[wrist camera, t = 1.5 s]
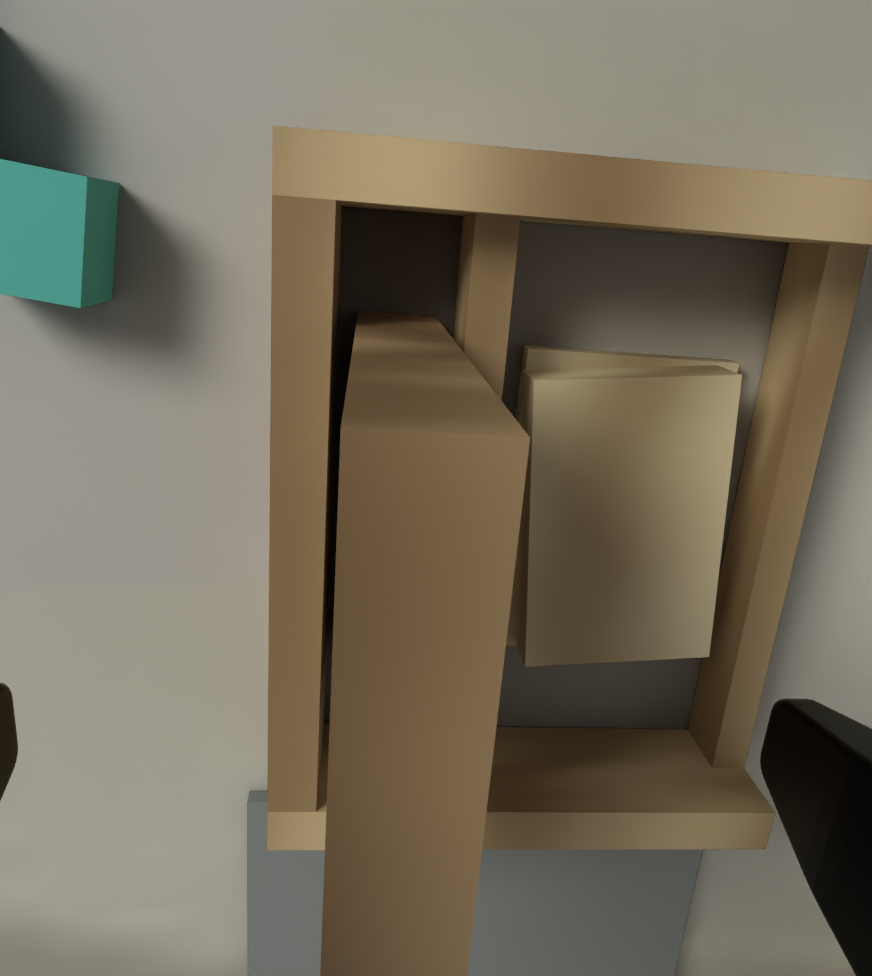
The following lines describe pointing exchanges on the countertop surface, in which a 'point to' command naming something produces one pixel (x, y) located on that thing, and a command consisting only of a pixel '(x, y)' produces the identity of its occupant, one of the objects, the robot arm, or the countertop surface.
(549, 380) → the offcut upper
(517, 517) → the wooden block
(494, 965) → the mat
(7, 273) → the alien figure
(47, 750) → the countertop surface
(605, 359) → the offcut lower
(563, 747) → the rack
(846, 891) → the robot arm
